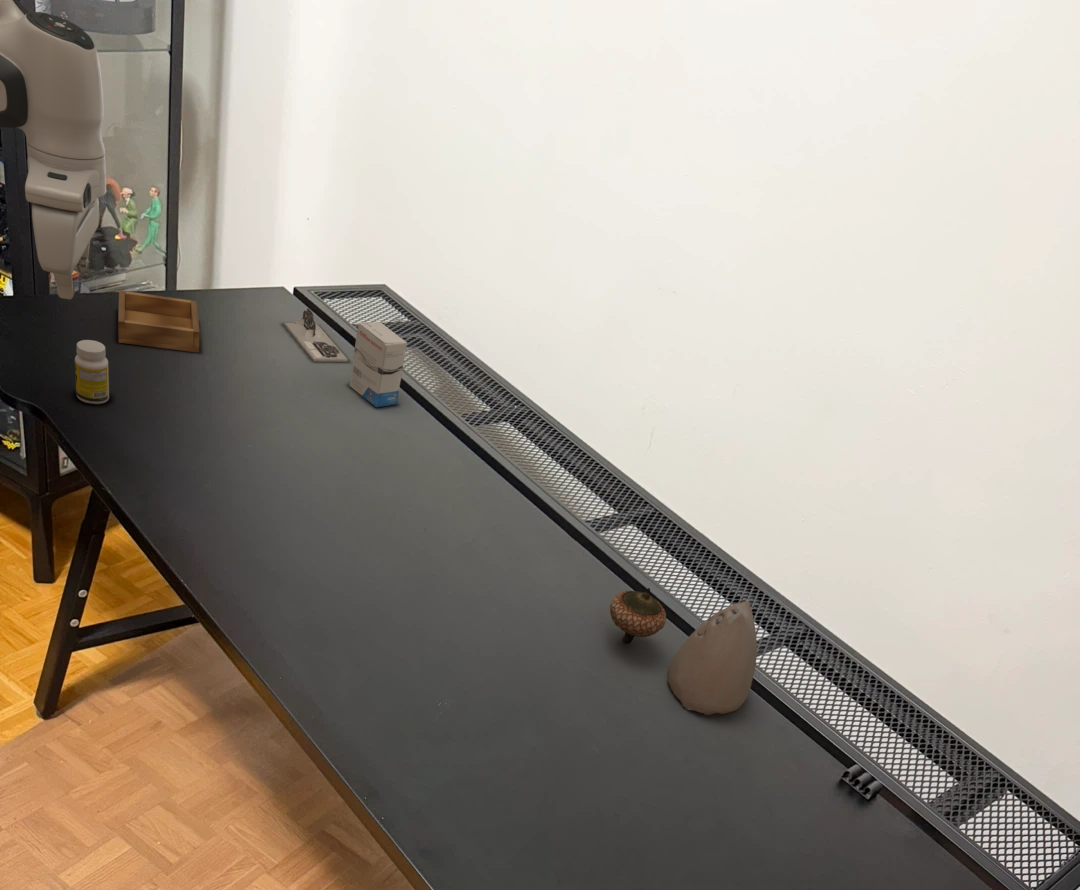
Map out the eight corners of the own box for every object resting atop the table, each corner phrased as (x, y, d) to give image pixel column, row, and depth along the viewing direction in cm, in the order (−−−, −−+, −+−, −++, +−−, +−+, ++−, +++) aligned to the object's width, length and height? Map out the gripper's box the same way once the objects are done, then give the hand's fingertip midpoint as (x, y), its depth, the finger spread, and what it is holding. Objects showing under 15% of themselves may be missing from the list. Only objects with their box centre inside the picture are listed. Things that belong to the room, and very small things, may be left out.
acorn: (610, 663, 142) (633, 606, 135) (589, 626, 147) (610, 569, 141) (661, 662, 145) (685, 606, 139) (639, 625, 150) (661, 570, 144)
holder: (118, 342, 173) (118, 321, 171) (119, 311, 182) (119, 289, 179) (198, 352, 178) (199, 331, 176) (195, 321, 187) (196, 301, 184)
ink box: (398, 405, 183) (409, 341, 175) (375, 408, 180) (385, 344, 172) (370, 382, 187) (380, 320, 179) (347, 385, 183) (356, 321, 176)
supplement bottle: (82, 387, 159) (80, 335, 154) (113, 394, 160) (112, 343, 155) (71, 400, 156) (69, 347, 150) (103, 407, 157) (101, 355, 151)
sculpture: (662, 653, 147) (698, 567, 137) (738, 670, 149) (780, 587, 139) (668, 710, 137) (708, 623, 127) (750, 728, 139) (795, 643, 129)
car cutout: (284, 325, 195) (286, 302, 192) (316, 325, 199) (319, 303, 196) (314, 361, 187) (316, 338, 184) (347, 361, 191) (350, 338, 188)
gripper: (57, 143, 133) (64, 251, 142) (20, 191, 119) (30, 307, 128) (109, 154, 135) (112, 260, 144) (79, 203, 120) (84, 317, 129)
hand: (73, 283), depth 136 cm, fingers open, 8 cm apart
